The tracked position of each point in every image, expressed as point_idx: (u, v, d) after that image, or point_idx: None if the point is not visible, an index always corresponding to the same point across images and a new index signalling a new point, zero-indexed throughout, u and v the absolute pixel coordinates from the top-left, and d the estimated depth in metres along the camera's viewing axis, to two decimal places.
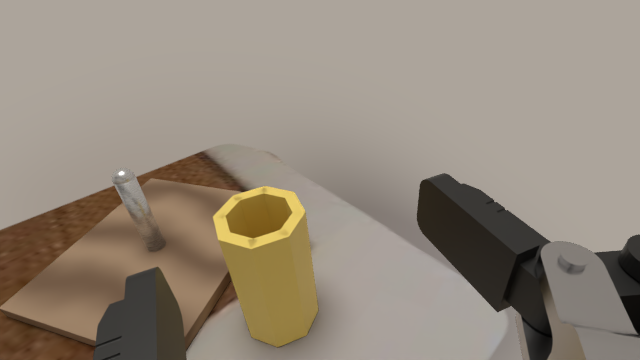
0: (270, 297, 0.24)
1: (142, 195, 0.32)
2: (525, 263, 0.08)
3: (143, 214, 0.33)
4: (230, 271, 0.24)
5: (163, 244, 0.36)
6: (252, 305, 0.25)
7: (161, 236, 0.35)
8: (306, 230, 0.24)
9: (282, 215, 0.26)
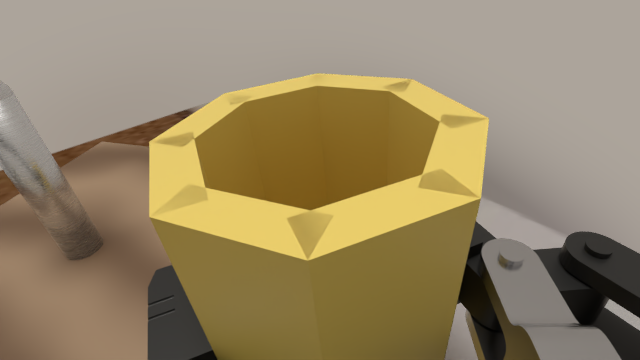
0: None
1: (36, 141, 0.15)
2: (470, 260, 0.09)
3: (42, 183, 0.16)
4: (212, 339, 0.07)
5: (97, 246, 0.19)
6: None
7: (91, 230, 0.18)
8: None
9: (369, 157, 0.09)
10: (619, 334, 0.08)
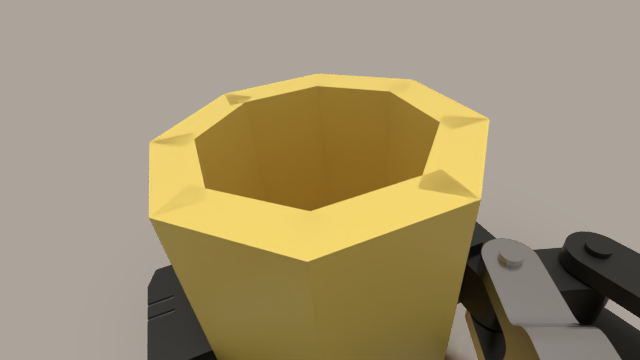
0: None
1: None
2: (469, 260, 0.09)
3: None
4: (212, 339, 0.07)
5: None
6: None
7: None
8: None
9: (369, 157, 0.09)
10: (619, 334, 0.08)
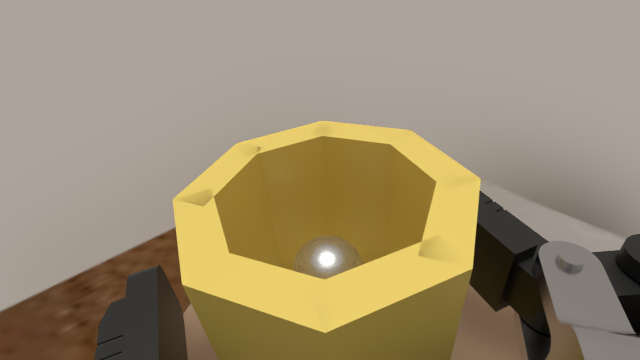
0: None
1: None
2: (523, 263, 0.08)
3: None
4: None
5: None
6: None
7: None
8: None
9: (371, 199, 0.10)
10: None
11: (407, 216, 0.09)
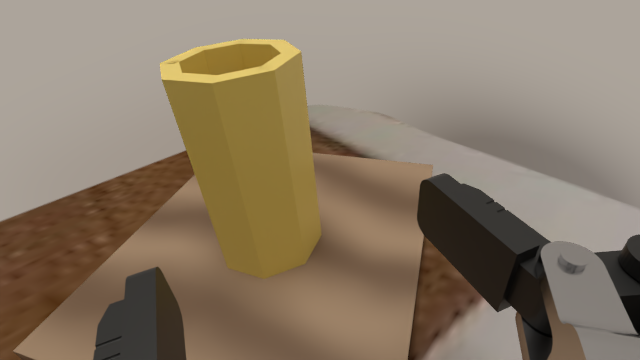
0: (250, 187, 0.16)
1: None
2: (525, 263, 0.08)
3: None
4: (187, 145, 0.15)
5: None
6: (224, 207, 0.17)
7: None
8: (303, 87, 0.16)
9: None
10: None
11: None
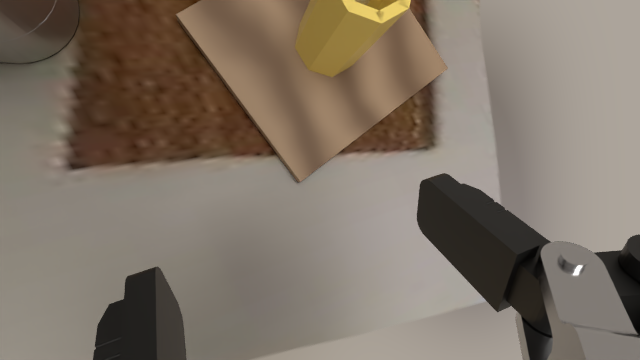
0: (332, 44, 0.28)
1: None
2: (525, 263, 0.08)
3: None
4: (317, 3, 0.25)
5: None
6: (313, 35, 0.29)
7: None
8: (396, 20, 0.25)
9: None
10: None
11: (390, 0, 0.25)
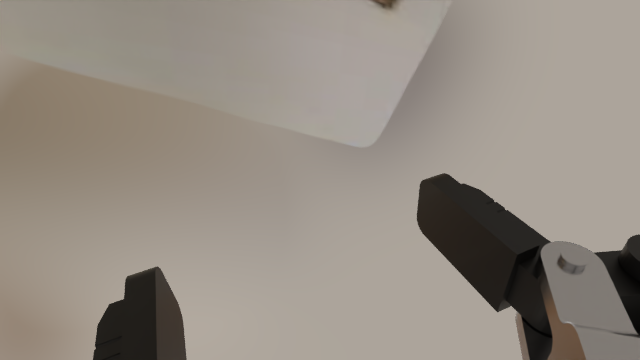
0: None
1: None
2: (525, 263, 0.08)
3: None
4: None
5: None
6: None
7: None
8: None
9: None
10: None
11: None
